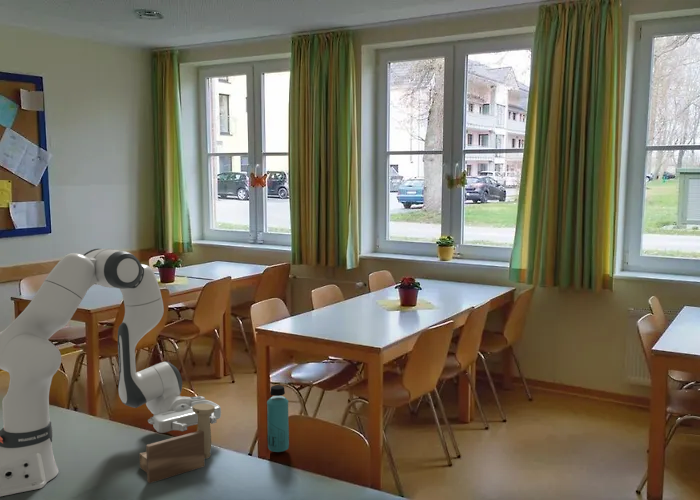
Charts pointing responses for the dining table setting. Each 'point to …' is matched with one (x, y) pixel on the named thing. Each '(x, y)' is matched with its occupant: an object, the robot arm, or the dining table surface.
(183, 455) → the wooden drawer
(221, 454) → the dining table surface
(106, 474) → the dining table surface
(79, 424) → the dining table surface
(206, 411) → the handle
